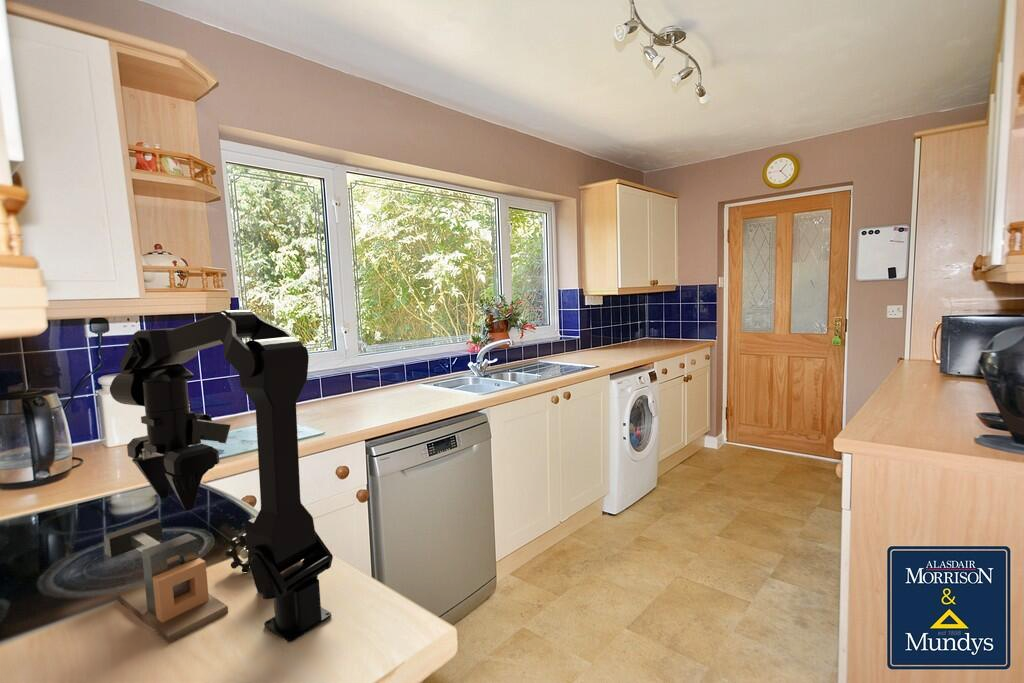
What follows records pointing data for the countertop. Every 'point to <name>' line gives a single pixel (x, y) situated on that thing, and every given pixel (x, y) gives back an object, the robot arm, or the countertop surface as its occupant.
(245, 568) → the valve
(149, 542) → the rod
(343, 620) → the countertop surface
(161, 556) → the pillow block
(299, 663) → the countertop surface
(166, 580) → the collar
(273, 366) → the robot arm
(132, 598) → the base plate
